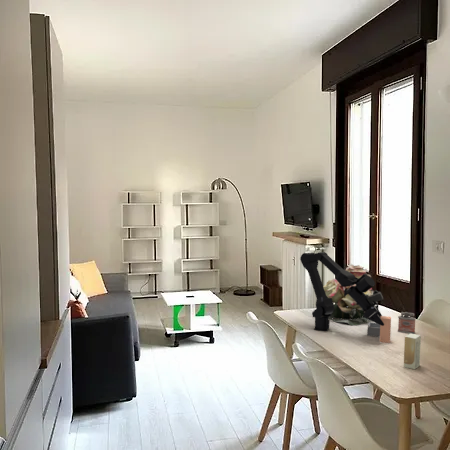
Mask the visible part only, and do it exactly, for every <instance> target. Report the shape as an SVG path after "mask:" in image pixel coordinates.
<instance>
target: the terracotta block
mask: <svg viewBox="0 0 450 450" xmlns="http://www.w3.org/2000/svg"><path fill="white" fill-rule="evenodd" d="M381 320H382V321H383V323H384V326H382V325H380V337H379V342H380V343H387V344H391V331H392V328H391V326H392V323H391V322H392V317H391V316H388V315H387V316H385V315H382V316H381Z"/></svg>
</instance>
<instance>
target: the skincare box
mask: <svg viewBox="0 0 450 450" xmlns="http://www.w3.org/2000/svg"><path fill="white" fill-rule="evenodd" d="M421 337H422V336H421V334H416V333H415V334H411V333H410V334H408V333H407V335H405V336H404V348H403V349H404V351H403V367H404V368H407V369H411V370H416V369H417V368H418V367H420V364H421V342H422V341H421V339H422V338H421Z"/></svg>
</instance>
